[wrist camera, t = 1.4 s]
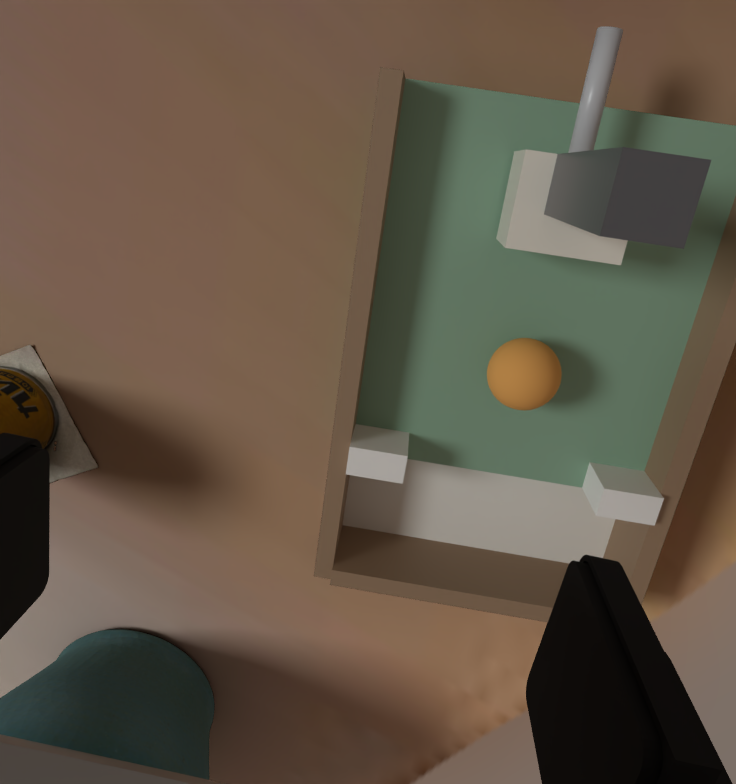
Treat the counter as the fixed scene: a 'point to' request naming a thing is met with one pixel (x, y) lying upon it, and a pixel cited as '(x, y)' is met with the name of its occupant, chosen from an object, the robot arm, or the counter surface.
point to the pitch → (490, 331)
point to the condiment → (40, 413)
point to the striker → (599, 186)
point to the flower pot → (118, 703)
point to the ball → (524, 374)
